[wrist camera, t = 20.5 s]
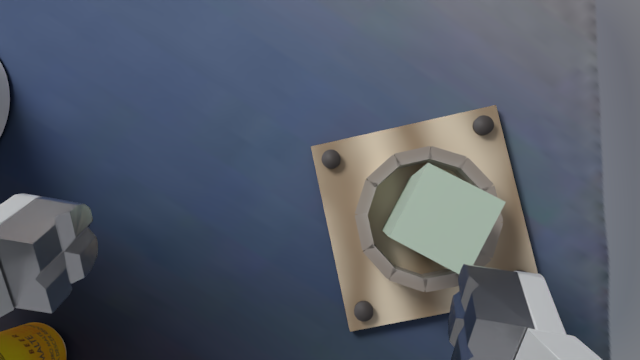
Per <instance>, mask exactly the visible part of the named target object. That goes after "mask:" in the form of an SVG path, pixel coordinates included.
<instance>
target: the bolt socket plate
mask: <svg viewBox="0 0 640 360" xmlns="http://www.w3.org/2000/svg"><path fill="white" fill-rule="evenodd" d="M311 149H312V154H313V159H314V163H315V168H316V173H317V178H318V182H319V187H320V192H321V197H322V201H323V206H324V211H325V216H326V220H327V225H328V230H329V234H330V239H331V244H332V249H333V253H334V258H335V263H336V268H337V272H338V277H339V282H340V287H341V291H342V296H343V301H344V306H345V310H346V315H347V320H348V324H349V329H350V332H351V331H356V330H361V329H366V328H371V327H377V326H382V325H387V324H392V323H397V322H403V321H408V320H413V319H418V318H423V317H429V316H434V315H439V314H444V313H449V312H450V306H451V302H452V298H453V295H455V294H456V293H458V292H459V283H458V277H459V274H457V273H456V272H454V271H452V270H450V269H448V268H446V267H444V266H442V265H441V264H439V263H437V262H435V261H433V260H431V259H429V258H427V257H425V256H424V255H422V254H420V253H418V252H416V251H414V250H412V249H410V248H409V247H407V246H405V245H403V244H401V243H399V242H397V241H395V240H394V239H392V238H390V237H388V236H387V235H386V234H385V233H384V232H383V231H382V229H383V227H384V225H385V223H386V221H387V219H388V218H389V216H390V214H391V212H392V210H393V208H394V206H395V204H396V202H397V200H398V198H399V197H400V195H401V193H402V191H403V189H404V187H405V185H406V183H407V181H408V179H409V178H410V177H411V176H412V175H413V174H415V173H416V172H417V171H418V170H420V169H421V168H422V167H423V166H425V165H426V164H427V163H430V164H432V165H434V166H436V167H438V168H440V169H442V170H444V171H446V172H448V173H450V174H452V175H454V176H456V177H458V178H460V179H462V180H464V181H466V182H468V183H470V184H471V185H473V186H475V187H477V188H479V189H481V190H483V191H485V192H487V193H489V194H491V195H493V196H495V197H497V198H499V199H501V200H503V201H505V202H506V203H505V205H504V207H503V209H502V210H501V212H500V214H499V216H498V218H497V220H496V222H495V224H494V226H493V228H492V230H491V232H490V234H489V235H488V237H487V239H486V241H485V243H484V245H483V247H482V249H481V251H480V253H479V255H478V257H477V259H476V260H475V262H474V264H473V265H475V266H481V267H488V268H494V269H501V270H507V271H521V272H529V273H536V274H538V272H537V268H536V264H535V260H534V256H533V252H532V248H531V244H530V240H529V236H528V232H527V228H526V224H525V220H524V216H523V212H522V208H521V204H520V200H519V196H518V192H517V188H516V184H515V180H514V176H513V172H512V167H511V163H510V159H509V155H508V151H507V147H506V143H505V139H504V135H503V131H502V127H501V123H500V119H499V115H498V111H497V107H496V105H494V106H489V107H485V108H480V109H476V110H471V111H467V112H463V113H458V114H454V115H449V116H445V117H440V118H436V119H431V120H427V121H423V122H418V123H414V124H409V125H405V126H400V127H396V128H391V129H387V130H382V131H378V132H374V133H369V134H365V135H360V136H356V137H351V138H347V139H342V140H338V141H334V142H329V143H325V144H320V145H316V146H311Z"/></svg>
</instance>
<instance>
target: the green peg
mask: <svg viewBox="0 0 640 360" xmlns="http://www.w3.org/2000/svg"><path fill="white" fill-rule="evenodd" d="M505 203H506V202H505V201H503V200H501V199H499V198H497V197H495V196H493V195H491V194H489V193H487V192H485V191H483V190H481V189H479V188H477V187H475V186H473V185H471V184H470V183H468V182H466V181H464V180H462V179H460V178H458V177H456V176H454V175H452V174H450V173H448V172H446V171H444V170H442V169H440V168H438V167H436V166H434V165H432V164H430V163H427V164H426V165H425V166H423V167H422V168H421V169H420V170H418V171H417V172H416V173H415V174H413V175H412V176H411V177H410V178H409V179H408V181H407V183H406V185H405V187H404V189H403V191H402V193H401V195H400V197H399V198H398V200H397V202H396V204H395V206H394V208H393V210H392V212H391V214H390V216H389V218H388V219H387V221H386V223H385V225H384V227H383V229H382V231H383V232H384V233H385V234H386V235H387V236H388V237H390V238H392V239H394V240H395V241H397V242H399V243H401V244H403V245H405V246H407V247H409V248H410V249H412V250H414V251H416V252H418V253H420V254H422V255H424V256H425V257H427V258H429V259H431V260H433V261H435V262H437V263H439V264H441V265H442V266H444V267H446V268H448V269H450V270H452V271H454V272H456V273H457V274H460V270H461V268H462V266H463V264H468V265H473V264H474V262H475V260H476V259H477V257H478V255H479V253H480V251H481V249H482V247H483V245H484V243H485V241H486V239H487V237H488V235H489V234H490V232H491V230H492V228H493V226H494V224H495V222H496V220H497V218H498V216H499V214H500V212H501V210H502V209H503V207H504V205H505Z"/></svg>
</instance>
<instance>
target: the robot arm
mask: <svg viewBox="0 0 640 360" xmlns="http://www.w3.org/2000/svg"><path fill="white" fill-rule="evenodd" d="M9 106H10V91H9V84H8V79H7V76H6V73H5V70H4V68H3V66H2V64H1V62H0V137H1V135H2V132H3V130H4V127H5V125H6V121H7V118H8V113H9ZM92 221H93V218H92V214H91V210H90V208H89V207H88V206H86V205H85V204H82V203H76V202H71V201H65V200H60V199H54V198H49V197H41V196H36V195H30V194H24V193H22V194H15V195H13V196H12V197H11V198H9V199H8V200H6V201H5V202H3V203H2V204H0V317H2V316H4V315H5V314H7V313H9V312H11V311H13V310H14V308H19V309H26V310H33V311H39V312H46V313H53V312H54V311H55V310H56V309H57V308H58V307H59V305H60V304H61V303H62V302H63V301H64V300H65V299H66V298H67V297H68V295H69V294H70V293H71V292H72V283H74V282H76V281H78V280H80V279H83V278H85V276H86V275H87V274H88V273H89V272H90V271H91V269H92V268H93V265H94V263H95V260H96V258H97V252H98V244H97V238H96V236H95V235H94V234H93V233H92V231H91V230H90V229H89V228H88V227H89V226H90V224H91V223H92ZM458 283H459V292H458V293H456V294H455V295H453V298H452V302H451V306H450V312H449V320H448V333H449V341H450V342H451V344H452V345H453V346H454V351H453V354H452V357H451V360H602V359H601V358H600V357H599V356H597V355H596V354H595V353H594V352H593V351H592V350H590V349H589V348H588V347H587V346H586V345H584V344H583V343H582V342H581V341H580V340H579V339H577V338H576V337H575V336H571V335H567V334H566V332H565V329H564V326H563V324H562V321H561V319H560V316H559V314H558V311H557V309H556V306H555V304H554V301H553V299H552V296H551V294H550V291H549V289H548V286H547V284H546V281H545V279H544V277H543V276H542V275H541V274H536V273H529V272H521V271H507V270H501V269H494V268H488V267H481V266H475V265H468V264H463V266H462V268H461V270H460V274H459V277H458Z"/></svg>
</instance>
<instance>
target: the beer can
mask: <svg viewBox="0 0 640 360" xmlns="http://www.w3.org/2000/svg"><path fill="white" fill-rule="evenodd" d="M66 358H67V351H66V346H65V343H64V341H63V339H62V337H61V336H60V335H59V334H58V333H57V331H55V330H54V329H53V328H52V327H50V326H48V325H46V324H43V323H38V322H32V323H27V324H23V325H20V326H17V327H14V328H11V329H8V330H5V331H2V332H0V360H66Z"/></svg>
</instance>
